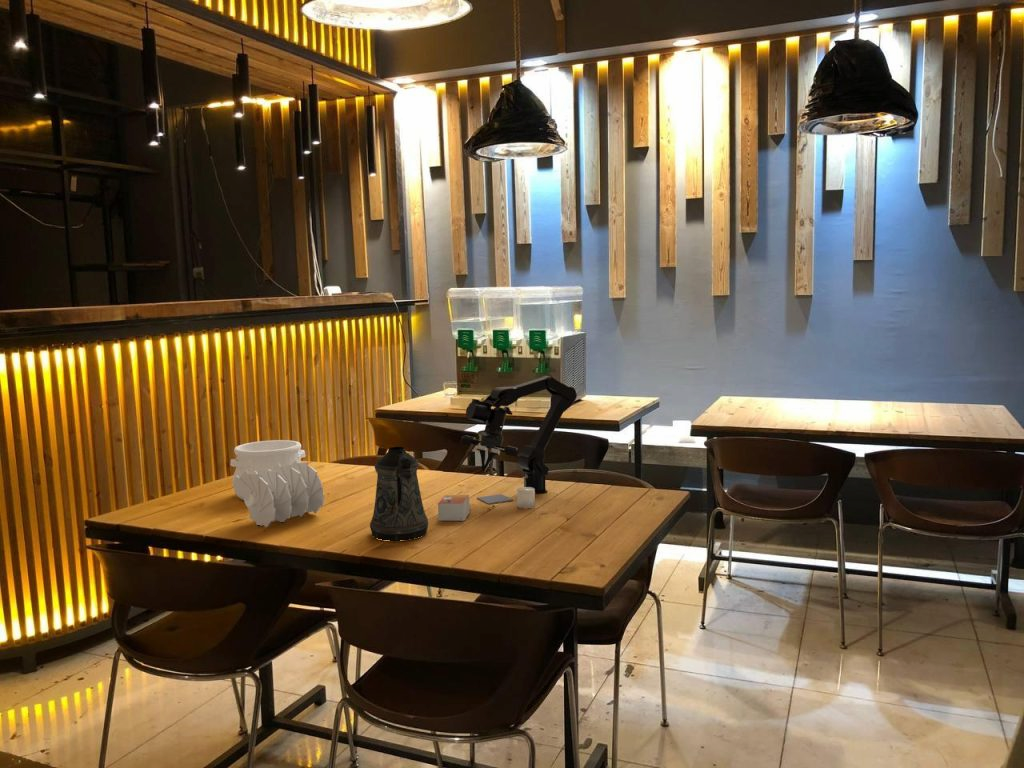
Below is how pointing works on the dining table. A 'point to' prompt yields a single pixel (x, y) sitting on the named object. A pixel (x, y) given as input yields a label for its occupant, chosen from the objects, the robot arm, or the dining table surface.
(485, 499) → the slate coaster
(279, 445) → the pot
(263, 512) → the spiral staircase
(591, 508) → the dining table surface
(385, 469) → the beer stein
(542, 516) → the dining table surface
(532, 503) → the espresso cup
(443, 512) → the small box
